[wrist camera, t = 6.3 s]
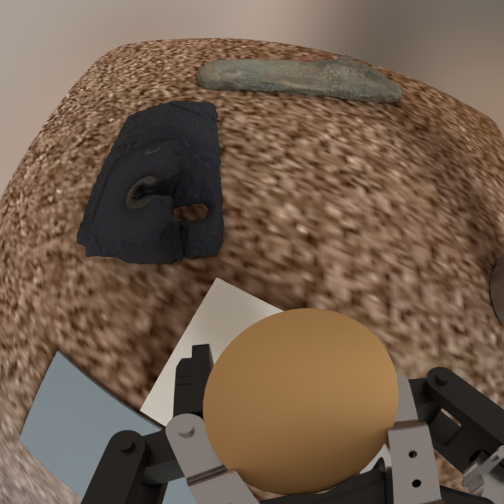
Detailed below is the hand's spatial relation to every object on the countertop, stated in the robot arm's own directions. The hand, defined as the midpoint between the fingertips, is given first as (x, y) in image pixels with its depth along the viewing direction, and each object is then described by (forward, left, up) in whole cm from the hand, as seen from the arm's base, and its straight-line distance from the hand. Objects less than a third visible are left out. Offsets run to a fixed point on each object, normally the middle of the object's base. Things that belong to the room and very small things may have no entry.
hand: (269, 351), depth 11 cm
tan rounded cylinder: (+1, +1, -4) cm, 4 cm away
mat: (+15, -6, -11) cm, 19 cm away
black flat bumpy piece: (-12, -18, -11) cm, 24 cm away
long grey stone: (-40, -10, -11) cm, 42 cm away
